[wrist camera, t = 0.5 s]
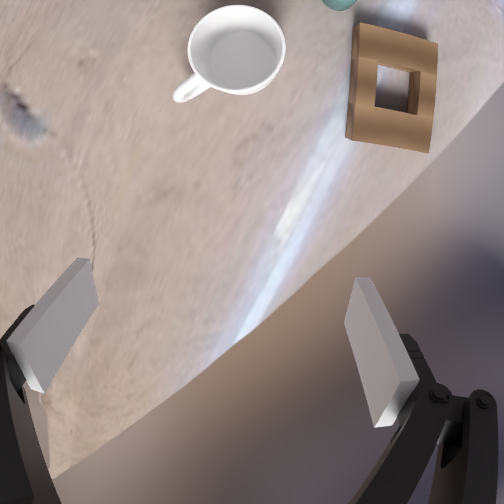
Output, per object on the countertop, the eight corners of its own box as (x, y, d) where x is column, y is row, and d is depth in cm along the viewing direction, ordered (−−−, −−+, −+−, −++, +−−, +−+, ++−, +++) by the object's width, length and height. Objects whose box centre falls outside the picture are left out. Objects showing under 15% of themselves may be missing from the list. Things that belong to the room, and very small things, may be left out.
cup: (293, 70, 32) (305, 58, 23) (208, 127, 36) (190, 136, 27) (250, 16, 30) (247, -12, 20) (166, 75, 33) (136, 68, 24)
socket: (352, 27, 30) (360, 22, 27) (426, 46, 30) (437, 43, 27) (345, 137, 36) (351, 140, 33) (417, 149, 36) (428, 153, 33)
